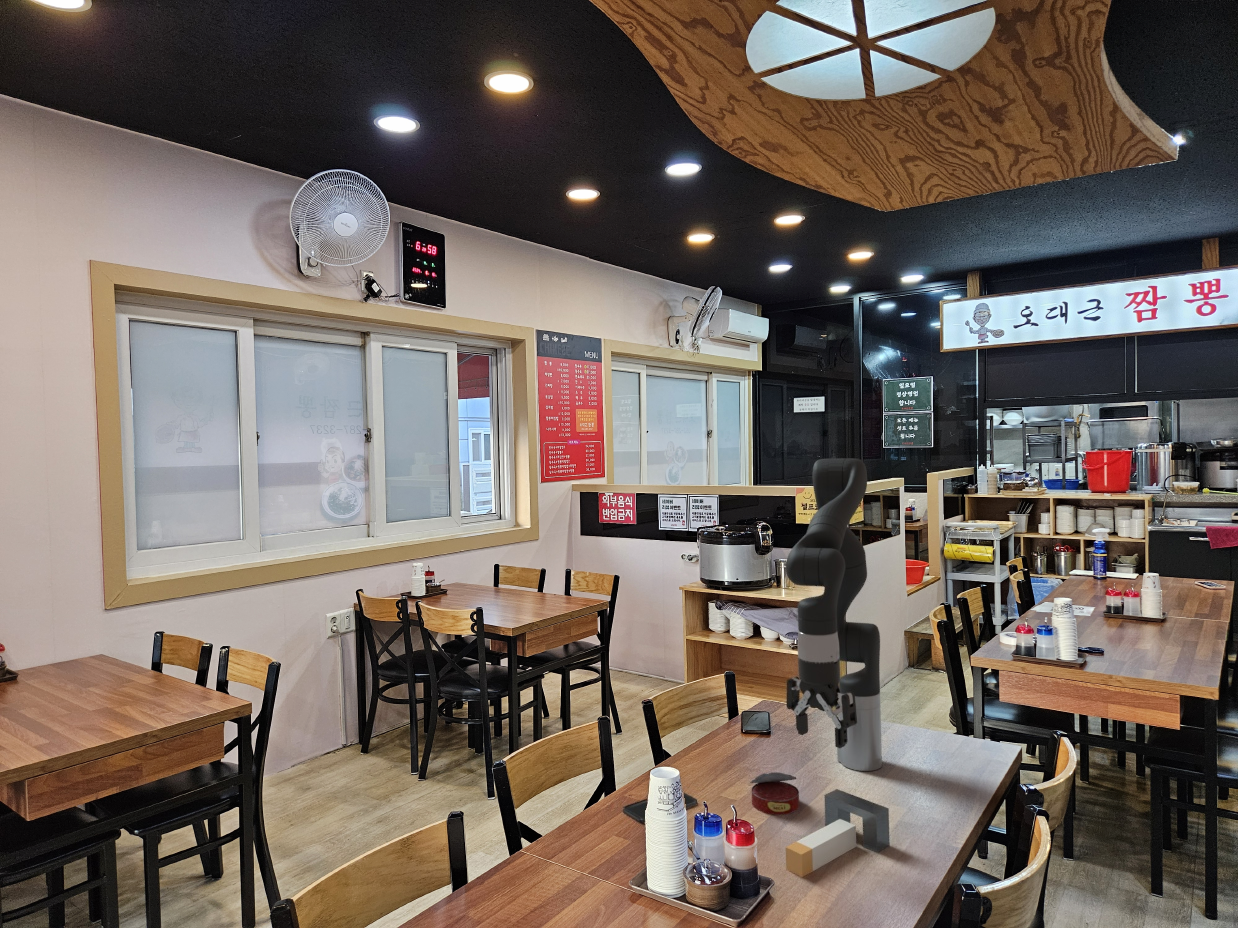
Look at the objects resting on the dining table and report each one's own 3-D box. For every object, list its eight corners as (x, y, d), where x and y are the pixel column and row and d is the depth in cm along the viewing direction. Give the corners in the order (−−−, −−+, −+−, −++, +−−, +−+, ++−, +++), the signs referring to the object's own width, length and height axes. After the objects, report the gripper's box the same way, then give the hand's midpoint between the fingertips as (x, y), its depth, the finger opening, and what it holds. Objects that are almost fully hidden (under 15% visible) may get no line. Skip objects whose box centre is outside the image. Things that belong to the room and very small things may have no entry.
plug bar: (786, 869, 140) (785, 846, 140) (840, 839, 150) (839, 818, 150) (802, 876, 137) (801, 854, 137) (856, 846, 147) (855, 825, 147)
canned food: (754, 830, 164) (731, 785, 166) (775, 807, 172) (753, 764, 174) (797, 819, 158) (772, 772, 160) (817, 795, 166) (794, 751, 168)
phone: (620, 807, 165) (676, 788, 173) (620, 812, 165) (676, 793, 173) (642, 821, 158) (699, 800, 167) (643, 826, 158) (699, 805, 167)
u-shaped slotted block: (825, 830, 154) (824, 794, 154) (837, 823, 156) (836, 788, 156) (877, 852, 145) (876, 814, 145) (889, 845, 147) (888, 808, 147)
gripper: (775, 651, 150) (778, 735, 151) (838, 667, 139) (841, 757, 139) (800, 643, 155) (803, 724, 155) (863, 657, 143) (866, 745, 144)
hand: (821, 739), depth 147 cm, fingers open, 8 cm apart
